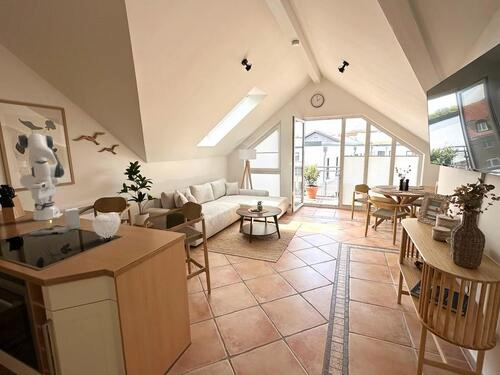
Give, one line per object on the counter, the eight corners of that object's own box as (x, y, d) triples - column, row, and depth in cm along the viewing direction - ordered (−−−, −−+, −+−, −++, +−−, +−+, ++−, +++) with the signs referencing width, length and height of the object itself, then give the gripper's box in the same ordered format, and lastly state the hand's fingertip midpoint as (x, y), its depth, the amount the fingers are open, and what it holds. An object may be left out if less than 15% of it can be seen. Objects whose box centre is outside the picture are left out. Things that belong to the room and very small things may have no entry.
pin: (49, 232, 175) (47, 220, 174) (54, 231, 175) (52, 219, 174) (46, 233, 172) (44, 221, 171) (51, 233, 172) (49, 221, 171)
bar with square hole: (36, 231, 175) (35, 228, 175) (69, 230, 179) (69, 226, 178) (29, 235, 168) (28, 231, 168) (64, 233, 172) (63, 229, 171)
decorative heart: (114, 233, 172) (112, 210, 170) (125, 235, 168) (123, 211, 166) (89, 242, 156) (87, 216, 154) (100, 244, 152) (98, 218, 149)
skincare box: (80, 226, 189) (78, 207, 187) (80, 228, 184) (79, 209, 182) (66, 228, 184) (64, 209, 182) (67, 230, 179) (65, 210, 177)
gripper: (48, 182, 179) (50, 200, 181) (28, 186, 159) (30, 206, 162) (57, 181, 180) (59, 200, 182) (38, 186, 160) (41, 206, 163)
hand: (46, 203), depth 172 cm, fingers open, 8 cm apart
